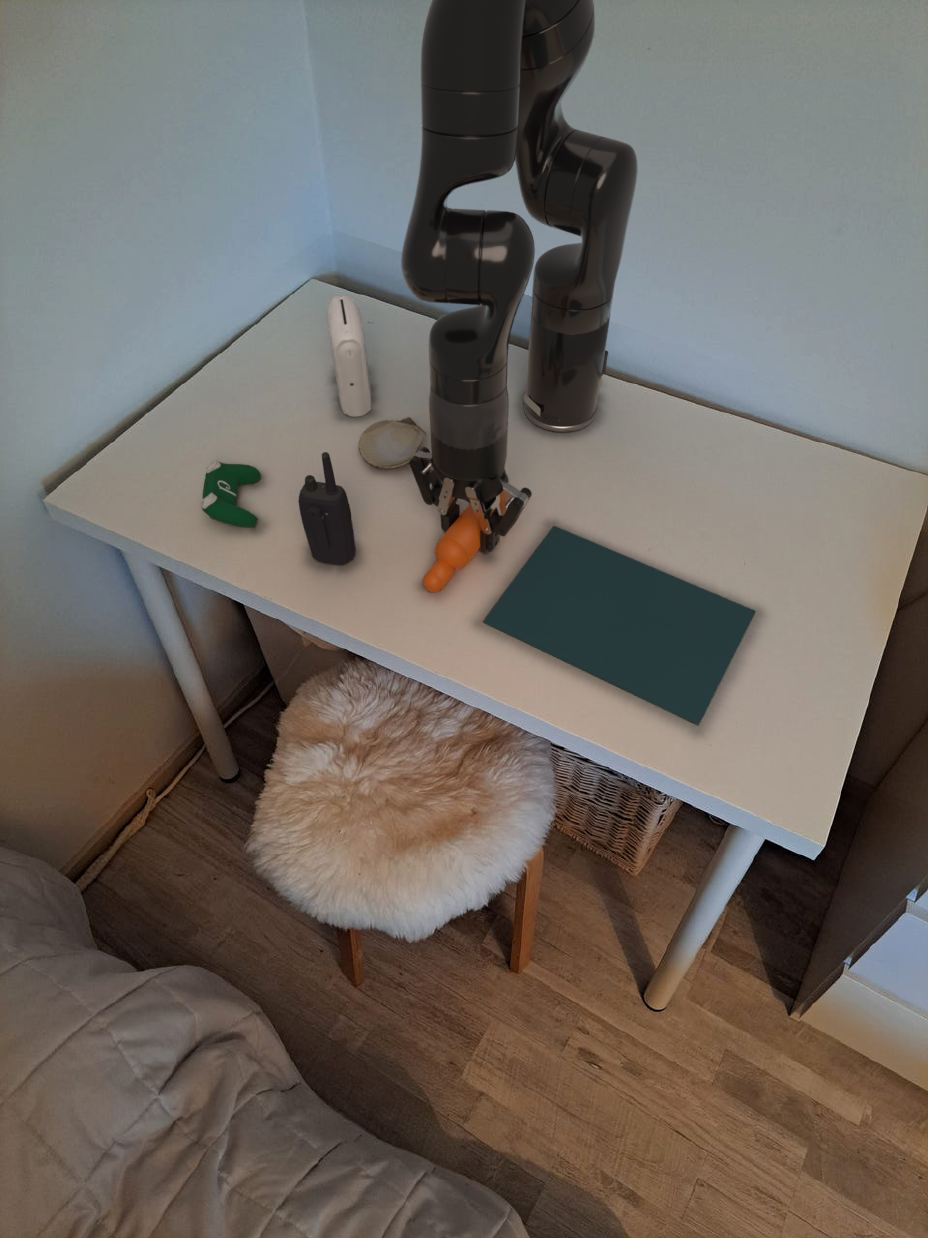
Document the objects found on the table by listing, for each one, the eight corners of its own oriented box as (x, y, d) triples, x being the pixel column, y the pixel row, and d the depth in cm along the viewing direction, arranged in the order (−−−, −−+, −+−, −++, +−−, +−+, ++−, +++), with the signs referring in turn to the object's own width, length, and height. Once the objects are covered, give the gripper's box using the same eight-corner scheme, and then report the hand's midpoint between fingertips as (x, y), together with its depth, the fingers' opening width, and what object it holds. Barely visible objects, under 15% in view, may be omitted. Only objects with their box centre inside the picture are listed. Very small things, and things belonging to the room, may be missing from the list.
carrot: (489, 494, 99) (490, 469, 96) (519, 506, 98) (520, 481, 94) (412, 588, 90) (410, 564, 87) (444, 603, 89) (443, 579, 86)
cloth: (553, 527, 96) (554, 525, 96) (755, 612, 88) (755, 610, 88) (483, 622, 88) (483, 621, 88) (698, 725, 80) (699, 724, 80)
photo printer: (375, 415, 108) (365, 332, 98) (341, 419, 108) (329, 336, 98) (366, 367, 114) (356, 284, 104) (335, 371, 114) (322, 287, 104)
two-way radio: (361, 548, 94) (345, 446, 82) (349, 577, 92) (331, 476, 80) (315, 540, 95) (292, 438, 83) (302, 569, 92) (276, 468, 80)
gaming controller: (246, 487, 103) (202, 463, 99) (264, 469, 101) (219, 444, 97) (241, 542, 97) (195, 520, 94) (260, 524, 95) (213, 500, 92)
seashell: (356, 457, 106) (380, 483, 100) (347, 437, 104) (371, 463, 98) (412, 426, 107) (439, 451, 102) (404, 406, 105) (431, 430, 99)
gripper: (553, 422, 80) (541, 543, 93) (427, 375, 84) (434, 497, 98) (515, 469, 76) (508, 588, 90) (385, 417, 80) (398, 538, 94)
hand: (469, 540), depth 94 cm, fingers closed on carrot, 4 cm apart
